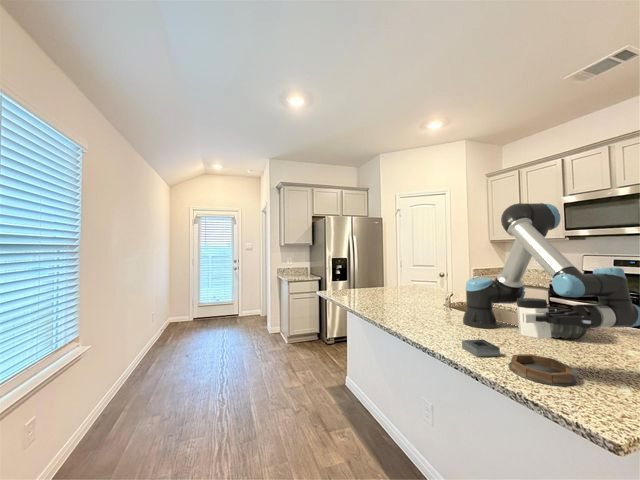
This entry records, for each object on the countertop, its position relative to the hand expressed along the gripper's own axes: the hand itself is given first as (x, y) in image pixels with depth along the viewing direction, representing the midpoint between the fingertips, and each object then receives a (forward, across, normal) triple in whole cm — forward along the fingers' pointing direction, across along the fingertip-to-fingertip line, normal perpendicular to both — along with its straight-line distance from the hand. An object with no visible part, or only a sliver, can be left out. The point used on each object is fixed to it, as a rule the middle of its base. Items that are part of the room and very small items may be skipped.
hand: (523, 317), depth 89 cm
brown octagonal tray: (-5, 0, -18) cm, 19 cm away
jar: (-7, +3, -7) cm, 10 cm away
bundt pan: (-44, +36, -18) cm, 60 cm away
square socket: (+3, +18, -18) cm, 26 cm away
